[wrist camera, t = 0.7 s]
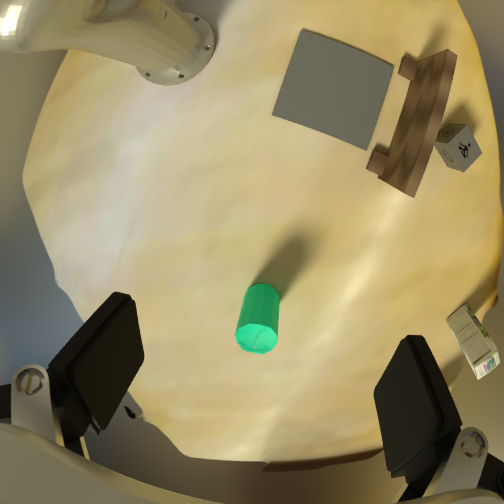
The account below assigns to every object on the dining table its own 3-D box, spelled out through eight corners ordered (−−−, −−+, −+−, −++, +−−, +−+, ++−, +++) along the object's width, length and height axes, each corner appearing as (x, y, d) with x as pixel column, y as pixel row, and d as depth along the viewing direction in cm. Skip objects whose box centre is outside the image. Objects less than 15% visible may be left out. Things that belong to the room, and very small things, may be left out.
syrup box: (471, 317, 45) (502, 361, 31) (451, 334, 47) (478, 381, 34) (465, 302, 43) (499, 348, 30) (444, 320, 45) (473, 369, 32)
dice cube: (431, 140, 33) (447, 143, 29) (449, 123, 31) (466, 124, 27) (447, 166, 34) (463, 172, 30) (464, 149, 33) (482, 153, 28)
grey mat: (271, 115, 35) (271, 114, 35) (301, 30, 29) (301, 29, 29) (365, 150, 36) (366, 150, 35) (392, 67, 30) (393, 67, 29)
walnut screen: (398, 187, 37) (428, 205, 28) (364, 171, 37) (387, 185, 28) (435, 74, 28) (470, 65, 19) (402, 55, 28) (433, 39, 19)
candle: (248, 279, 46) (236, 326, 35) (283, 287, 46) (282, 335, 35) (241, 308, 49) (230, 356, 38) (275, 315, 49) (271, 365, 38)
